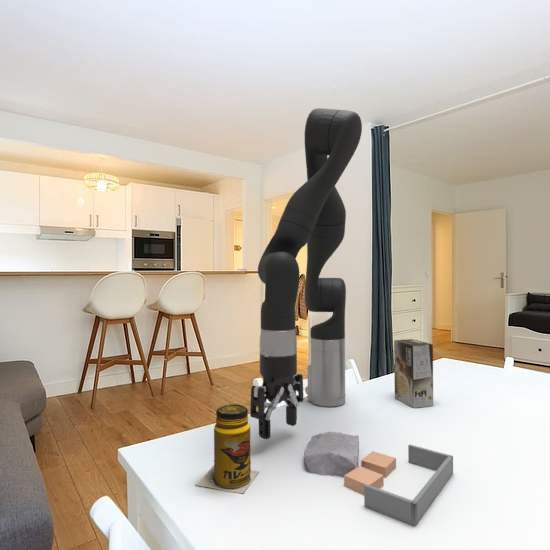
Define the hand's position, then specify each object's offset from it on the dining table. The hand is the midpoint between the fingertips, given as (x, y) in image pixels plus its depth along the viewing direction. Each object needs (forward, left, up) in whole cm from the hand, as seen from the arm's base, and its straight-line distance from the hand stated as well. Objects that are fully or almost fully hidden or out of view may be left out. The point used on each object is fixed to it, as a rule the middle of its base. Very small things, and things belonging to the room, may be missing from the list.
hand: (278, 431), depth 80 cm
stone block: (+12, +1, -3) cm, 12 cm away
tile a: (+21, -4, -3) cm, 21 cm away
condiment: (+2, -16, -3) cm, 16 cm away
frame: (+27, 0, -3) cm, 27 cm away
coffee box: (+12, +43, -3) cm, 45 cm away
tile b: (+20, +3, -3) cm, 21 cm away
